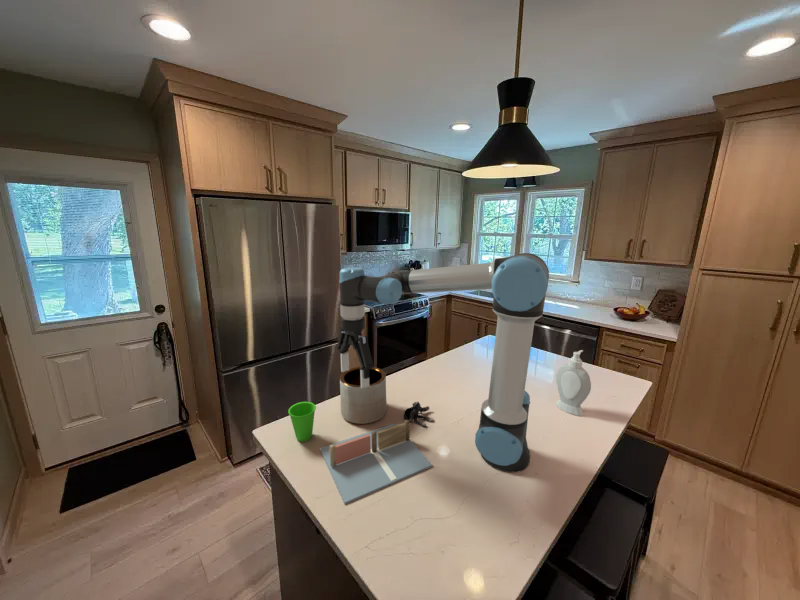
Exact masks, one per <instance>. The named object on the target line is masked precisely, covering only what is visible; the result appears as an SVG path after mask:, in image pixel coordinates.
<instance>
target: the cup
mask: <svg viewBox="0 0 800 600" xmlns="http://www.w3.org/2000/svg"><path fill="white" fill-rule="evenodd" d="M316 409H317V406H316V404H314V403H313V402H311V401H310V402H309V401H300V402H297V403H295V404H293V405H291V406H290V407H289V408H288V411H287V413H288V415H289V417H290V419H291V423H292V427H293V431H294V433H295V434H294V435H295V438H296V440H297V441H298V442H303V443H304V442H307V441H309V440H311V438H312V436H313V430H314V422H315V421H314V419H315V411H316Z"/></svg>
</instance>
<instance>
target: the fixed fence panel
mask: <svg viewBox="0 0 800 600" xmlns="http://www.w3.org/2000/svg"><path fill="white" fill-rule="evenodd" d="M410 428H411V426H410V421H409V420H404V422H402V423H399V424H397V425H396V426H393V427H390V428H387V429H384V430H381V431H378V449H379V450H380V449H382V448H385V447H388V446H390V445H393V444H396V443H399V442H401V441H404V440H406V441H409V439H410V430H411V429H410ZM371 431H372V452H373V453H376V452H377V432H376V431H373V430H371Z"/></svg>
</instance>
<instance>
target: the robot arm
mask: <svg viewBox="0 0 800 600" xmlns="http://www.w3.org/2000/svg"><path fill="white" fill-rule="evenodd" d="M549 279H550V270H549V267H548V265H547V264H546V261H545V260H544V259H542V258H541V257H540V256H539V255H536V254H534V253H530V252H525V253H524V252H523V253H517V254H515V255H510V256H506V257H497V258H494V259H493V260H492V261H491V262H485V263H482V262H481V263H474V264H473V263H472V264H464V265H462V264H461V265H451V266H443V267H433V268H421V269H413V270H412V269H411V270H408V269H407V270H406V269H402V270H397V271H395V272H393V273H389V274H385V275H382V276H373V275H371V276H370V275H365V270H364V269H363V268H362V267H353V266H352V267H344V268H342V269H340V271H339V283H338V284H339V293H340V295H339V297H340V302H339V303H340V304H339V310H340V311H339V312H340V317H341V318H340V327H339V329H340V330H339V331H340V332H339V337H338V341H337V345H336V349H337V351H339V353H340V372H341V373H343V372H345V371H348V370H349V369H350V358H349V357H350V356H349V354H350V353H349V349H350V347H352V348H353V350H355V352H356V355H357V359H358V361H359V363H360V366H361V367H362V368H360V376H361V388H365V387H368V386H369V369H371V368H373V367H375V365H374V362H373V358H372V354H371V350H370V346H369V340H368V335H364V336H363V335H362V332H363V330H365V328H366V317H364V316H365V315H366V313H365V307H366V305H365V304H366V303H365V302H371V303H372V302H373V303H380V304H384V305H389V304H390V305H395V304H397V303H398V302H399V300H401V298H402V295H411V294H421V293H423V294H424V293H442V292H446V293H447V292H459V291H462V292H463V291H464V292H465V291H476V290H477V291H479V290H491V292H492V294H493V299H492V307H491V308H492V311H493V312H494V314H495V315H496V316H497V319H496V329H495V339H494V346H493V355H492V363H491V373H490V382H489V388H488V389H489V390H488V398H487V399H486V400H484V401H483V402H482V404H481V409H480V419H479V424H478V425H479V426H478V429H477V431H476V432H475V435H474V436H475V438H474V439H475V440H474V444H475V447H476V449H477V451H478V452H479V454H480V456H481V458H482V460H483V461H484V462H486V464H488V465H489V466H491V467H492V468H494V469H496V470H499V471H501V472H502V471H503V472H506V473H518V472H521V471H524V470H525V469H527V468H528V466H529V465H530V461H531V451H530V449H529V447H528V446H529V445H528V441H527V431H528V430H527V429H528V422H529V420H528V419H529V411H530V404H531V397H530V394H529V392H528V391H526V390H525V389H526V383H527V376H528V369H529V363H530V357H531V356H530V355H531V349H532V342H533V335H534V327H535V322H536V321H537V320H538V319H540V318H542V317H543V313H544V307H545V301H546V294H547V291H548V288H549V287H548V286H549V285H548V284H549Z"/></svg>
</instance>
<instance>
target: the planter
mask: <svg viewBox="0 0 800 600" xmlns="http://www.w3.org/2000/svg"><path fill="white" fill-rule="evenodd" d="M360 368H362V367H361V365H360V366H356V367H351V368H349V370H348V371H345V372H341V374H340V375H339V390H340V391H339V393H340V398H339V399H340V415H341V417H343V418H344V420H345V421H347V422H348V423H349V422H350V423H352V424H355V425H367V424H372V423H374V422H377V421H379V420H380V419H381V418H383V417H384V416H385V415H386V412H387V405H388V404H387V377H386V376H387V375H386V372H385V371H384V370H383V369H381V368H378V367H375V366H374V367H373V368H371V369H369V386H368V387H365V388H361V376H360Z"/></svg>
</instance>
